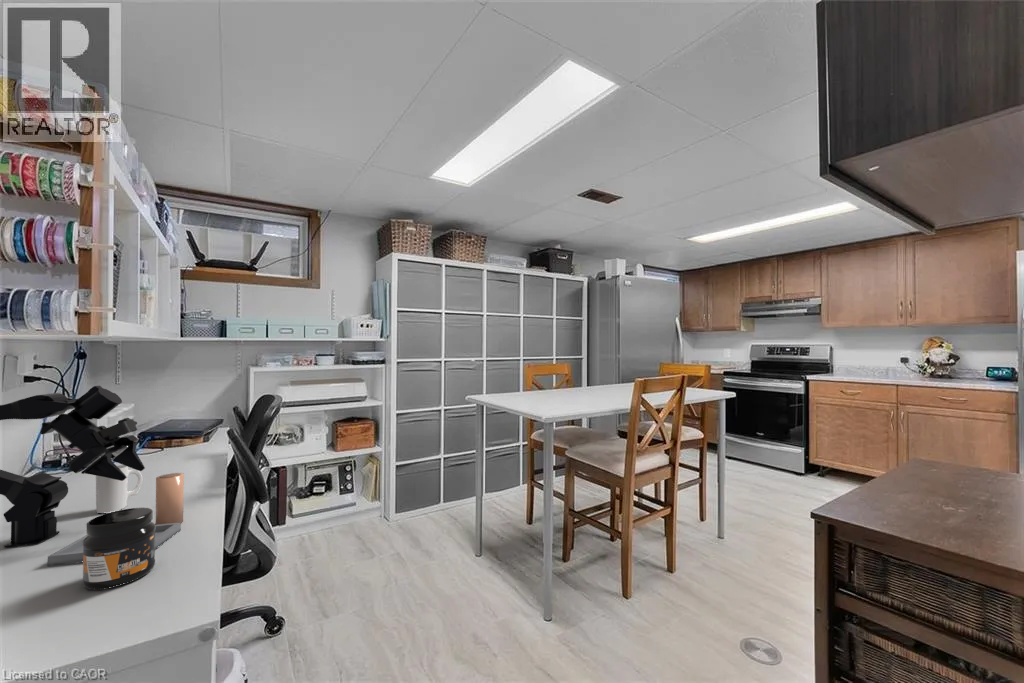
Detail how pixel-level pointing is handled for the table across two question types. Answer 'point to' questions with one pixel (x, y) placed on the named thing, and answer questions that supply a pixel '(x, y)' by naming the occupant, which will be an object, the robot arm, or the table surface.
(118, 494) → the mug
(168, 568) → the table surface
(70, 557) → the charcoal tray
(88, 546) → the supplement container
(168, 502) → the terracotta cup
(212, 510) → the table surface
